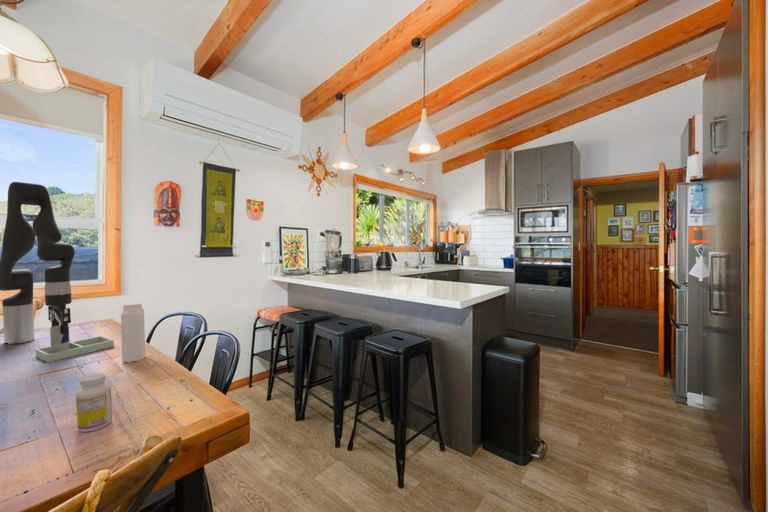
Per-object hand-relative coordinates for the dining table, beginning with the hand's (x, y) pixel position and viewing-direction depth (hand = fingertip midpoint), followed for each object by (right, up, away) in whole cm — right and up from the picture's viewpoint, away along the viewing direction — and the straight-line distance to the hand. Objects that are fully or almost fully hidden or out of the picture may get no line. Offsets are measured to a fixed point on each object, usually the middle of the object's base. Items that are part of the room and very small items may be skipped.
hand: (60, 332), depth 130 cm
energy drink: (0, -10, +1) cm, 10 cm away
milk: (+33, -10, -3) cm, 34 cm away
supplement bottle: (+58, -13, -48) cm, 76 cm away
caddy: (+2, -9, +5) cm, 11 cm away
